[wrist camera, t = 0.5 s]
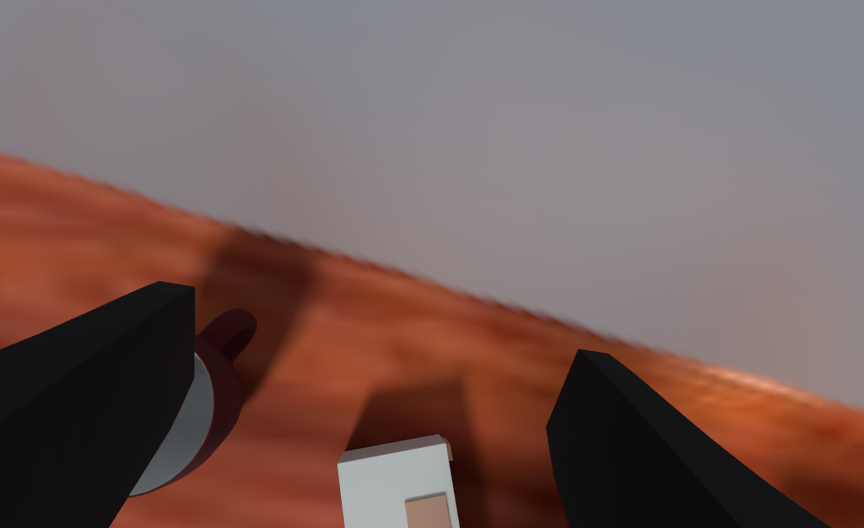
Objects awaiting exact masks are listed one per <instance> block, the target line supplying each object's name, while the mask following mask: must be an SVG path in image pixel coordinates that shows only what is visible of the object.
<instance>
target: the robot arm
mask: <svg viewBox="0 0 864 528" xmlns="http://www.w3.org/2000/svg"><path fill="white" fill-rule="evenodd" d="M194 378H195V287H193V286H187V285H180V284H174V283H168V282H162V281H158V282H156V283H153V284H150V285H148V286H145V287H143V288H140V289H138V290H136V291H133V292H131V293H129V294H127V295H124V296H122V297H120V298H118V299H116V300H113V301H111V302H109V303H107V304H105V305H102V306H100V307H98V308H96V309H94V310H91V311H89V312H87V313H85V314H82V315H80V316H78V317H76V318H73V319H71V320H69V321H67V322H64V323H62V324H60V325H58V326H56V327H53V328H51V329H49V330H47V331H44V332H42V333H40V334H37V335H35V336H32V337H30V338H27V339H25V340H22V341H20V342H18V343H15V344H13V345H10V346H8V347H5V348H3V349H0V528H109V526H110V525H111V523H112V522H113V520H114V519H115V517H116V515H117V514H118V512H119V511H120V509H121V507H122V506H123V504H124V503H125V501H126V500H127V498H128V496H129V495H130V493H131V492H132V490H133V489H134V487H135V485H136V484H137V482H138V481H139V479H140V478H141V476H142V474H143V473H144V471H145V470H146V468H147V466H148V465H149V463H150V462H151V460H152V458H153V457H154V455H155V454H156V452H157V450H158V449H159V447H160V446H161V444H162V442H163V441H164V439H165V438H166V436H167V434H168V433H169V431H170V429H171V428H172V426H173V424H174V421H175V419H176V417H177V415H178V413H179V411H180V409H181V407H182V405H183V403H184V400H185V398H186V396H187V394H188V391H189V389H190V387H191V385H192V382H193V380H194ZM546 431H547V437H548V444H549V450H550V457H551V462H552V467H553V473H554V477H555V481H556V484H557V488H558V491H559V495H560V498H561V501H562V505H563V508H564V511H565V514H566V518H567V521H568V524H569V527H570V528H831V527H829V526H828V525H826V524H825V523H824V522H822V521H821V520H819V519H818V518H816V517H815V516H813V515H812V514H811V513H809V512H808V511H806V510H805V509H803V508H802V507H801V506H799V505H798V504H796V503H795V502H793V501H792V500H790V499H789V498H788V497H786V496H785V495H784V494H782V493H781V492H779V491H778V490H777V489H775V488H774V487H773V486H771V485H770V484H769V483H767V482H766V481H765V480H763V479H762V478H761V477H759V476H758V475H757V474H755V473H754V472H753V471H752V470H750V469H749V468H748V467H746V466H745V465H744V464H743V463H741V462H740V461H739V460H738V459H736V458H735V457H734V456H732V455H731V454H730V453H729V452H727V451H726V450H725V449H724V448H722V447H721V446H720V445H719V444H717V443H716V442H715V441H714V440H712V439H711V438H710V437H709V436H708V435H706V434H705V433H704V432H703V431H702V430H700V429H699V428H698V427H697V426H695V425H694V424H693V423H692V422H691V421H690V420H688V419H687V418H686V417H685V416H684V415H682V414H681V413H680V412H679V411H678V410H677V409H675V408H674V407H673V406H672V405H671V404H670V403H668V402H667V401H666V400H665V399H664V398H663V397H661V396H660V395H659V394H658V393H657V392H655V391H654V390H653V389H652V388H651V387H650V386H648V385H647V384H646V383H645V382H644V381H643V380H641V379H640V378H639V377H638V376H637V375H635V374H634V373H633V372H632V371H630V370H629V369H628V368H627V367H625V366H624V365H623V364H622V363H620V362H619V361H618V360H616V359H615V358H614V357H612V356H611V355H609V354H607V353H601V352H595V351H589V350H583V349H578V351H577V353H576V356H575V358H574V361H573V363H572V365H571V368H570V370H569V373H568V375H567V378H566V380H565V382H564V385H563V387H562V390H561V392H560V394H559V397H558V399H557V402H556V404H555V407H554V409H553V411H552V414H551V416H550V419H549V421H548V423H547V426H546Z"/></svg>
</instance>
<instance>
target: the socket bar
mask: <svg viewBox="0 0 864 528" xmlns="http://www.w3.org/2000/svg"><path fill="white" fill-rule="evenodd" d="M452 460H453V459H452V453H451V447H450V443H449V442H448V441H447V439H446V438H445V437H443V438H441V436H440V435H439V434H435V435H430V436H425V437H419V438H414V439H409V440H403V441H398V442H393V443H387V444H382V445H377V446H371V447H366V448H361V449H355V450H350V451H345V452H344V453H343V455H342V457H341V458H340V460H339V462H338V463H337V465H338V473H339V482H340V490H341V498H342V506H343V514H344V522H345V528H460V527H459V521H458V515H457V509H456V503H455V496H454V490H453V484H452V478H451V472H450V466H449V461H452Z"/></svg>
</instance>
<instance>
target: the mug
mask: <svg viewBox="0 0 864 528" xmlns="http://www.w3.org/2000/svg"><path fill="white" fill-rule="evenodd" d="M256 329H257V321H256V320H255V318H254V316H253V315H252V314H251V313H249V312H248V311H246V310H244V309H240V308H237V309H232V310H229V311H227V312H225V313H223V314H221V315H220V316H218V317H217V318H216V319H214V320H213V321H212V322H211V323H210V324H209V325H208V326H207V327H206V328H205V329H204V330H203V331H202V332H201V333H200V334H199V335H196V336H195V378H194V380H193V382H192V385H191V387H190V389H189V391H188V394H187V396H186V398H185V400H184V403H183V405H182V407H181V409H180V411H179V413H178V415H177V417H176V419H175V421H174V424H173V426H172V428H171V429H170V431H169V433H168V434H167V436H166V438H165V439H164V441H163V442H162V444H161V446H160V447H159V449H158V450H157V452H156V454H155V455H154V457H153V458H152V460H151V462H150V463H149V465H148V466H147V468H146V470H145V471H144V473H143V474H142V476H141V478H140V479H139V481H138V482H137V484H136V485H135V487H134V489H133V490H132V492H131V493H130V495H129V496H128V498H129V497H136V496H140V495H144V494H147V493H150V492H153V491H155V490H158V489H160V488H162V487H164V486H167V485H169V484H171V483H173V482H175V481H177V480H179V479H181V478H183V477H184V476H186V475H188V474H189V473H191V472H192V471H194V470H195V469H196V468H198V467H199V466H200V465H201V464H202V463H204V462H205V461H206V460H207V459H208V458H209V457H210V456H211V455H212V454H213V452H214V451H215V450H216V449H217V448H218V447H219V445H220V444H221V443H222V442H223V441H224V439H225V438H226V437H227V436H228V435H229V433H230V432H231V430H232V429H233V427H234V426H235V424H236V422H237V420H238V417H239V415H240V411H241V407H242V398H243V396H242V386H241V382H240V379H239V377H238V374H237V372H236V370H235V368H234V366H233V364H232V362H233V361H234V360H235V359H236V357H237V356H238V355H239V354H240V353H241V352H242V351H243V350H244V348H245V347H246V346H247V345H248V344H249V342H250V341H251V339H252V338H253V336H254V334H255V332H256Z"/></svg>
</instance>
